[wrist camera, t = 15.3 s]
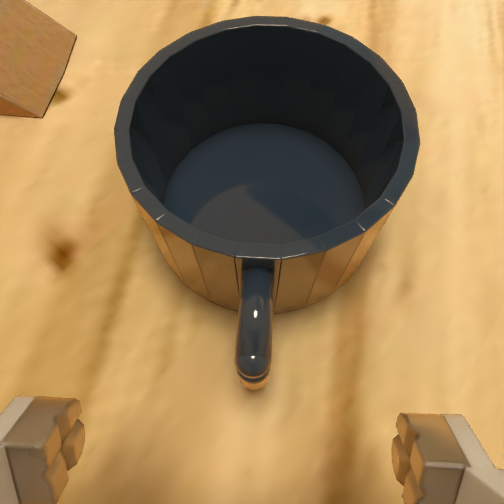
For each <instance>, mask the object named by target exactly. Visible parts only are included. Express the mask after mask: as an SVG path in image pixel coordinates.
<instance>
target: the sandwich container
mask: <svg viewBox="0 0 504 504" xmlns="http://www.w3.org/2000/svg"><path fill="white" fill-rule="evenodd" d="M76 36H77V35H75V34H74V33H72V32H71V31H70V30H68V29H67V28H65V27H64V26H62V25H61V24H59V23H58V22H56V21H55V20H53V19H52V18H50V17H49V16H47V15H46V14H44V13H43V12H41V11H40V10H38V9H37V8H36V7H34V6H33V5H31V4H30V3H28V2H27V1H25V0H0V114H3V115H15V116H28V117H40V118H42V117H43V114H44V112H45V110H46V108H47V106H48V104H49V102H50V100H51V98H52V96H53V94H54V92H55V90H56V87H57V85H58V83H59V81H60V79H61V77H62V75H63V73H64V70H65V67H66V64H67V61H68V58H69V55H70V52H71V50H72V47H73V44H74V41H75V38H76Z"/></svg>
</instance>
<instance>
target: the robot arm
mask: <svg viewBox="0 0 504 504" xmlns="http://www.w3.org/2000/svg"><path fill="white" fill-rule="evenodd" d="M81 412H82V410H81V405H80V401H79V400H77V399H72V398H57V397H43V396H38V397H36V396H22V395H19V396H17V397H15V398H14V399H13V400H12V401H11V402H10V403H9V405H8V406H7V407H6V408H5V409H4V411H3V412H2V413H1V414H0V504H56V503H57V501H58V499H59V497H60V496H61V494H62V492H63V490H64V488H65V486H66V484H67V482H68V475H67V471H68V470H70V469H71V468H72V467H74V466H75V465H76V464H77V462H78V460H79V458H80V456H81V454H82V450H83V446H84V442H85V429H84V425H83V423H82V422H81V421H80V420H79V419H78V417H79V415H80V413H81ZM396 427H397V430H398V433H399V434H398V435H397V436H396V437H395V438H394V439H393V443H392V464H393V469H394V473H395V476H396V479H397V480H398V481H399V482H400V483H401V484H402V485H403V486H404V490H403V495H402V497H403V500H404V503H405V504H504V470H503V469H496V468H495V466H494V465H493V463H492V461H491V460H490V458H489V456H488V455H487V453H486V452H485V450H484V448H483V447H482V445H481V443H480V442H479V440H478V438H477V437H476V435H475V434H474V432H473V430H472V429H471V427H470V425H469V424H468V422H467V420H466V419H465V417H463V416H462V415H458V414H440V415H439V414H417V413H400V414H399V415H398V417H397V422H396Z"/></svg>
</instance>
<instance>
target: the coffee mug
mask: <svg viewBox="0 0 504 504" xmlns="http://www.w3.org/2000/svg"><path fill="white" fill-rule="evenodd" d="M114 136H115V148H116V159H117V164H118V167H119V169H120V171H121V173H122V176H123V178H124V180H125V182H126V185H127V187H128V189H129V191H130V194H131V196H132V197H133V199H134V201H135V203H136V205H137V207H138V209H139V211H140V213H141V214H142V216H143V218H144V220H145V222H146V224H147V226H148V228H149V230H150V232H151V233H152V235H153V237H154V239H155V241H156V243H157V245H158V247H159V249H160V251H161V252H162V254H163V256H164V258H165V260H166V261H167V263H168V264H169V265H170V267H171V268H172V269H173V271H174V272H175V273H176V275H177V276H178V277H179V278H180V279H181V280H182V281H183V282H184V283H185V284H186V285H187V286H188V287H189V288H191V289H192V290H193V291H195V292H196V293H197V294H199V295H200V296H202V297H204V298H205V299H207V300H209V301H211V302H213V303H215V304H218V305H220V306H223V307H225V308H228V309H232V310H236V311H238V320H237V334H236V347H235V365H236V369H237V372H238V375H239V378H240V381H241V383H242V384H243V385H244V386H245V387H246V388H248V389H251V390H257V389H260V388H262V387H263V386H264V385H265V384H266V382H267V380H268V376H269V371H270V366H271V355H272V330H273V314H275V313H282V312H289V311H293V310H297V309H300V308H304V307H307V306H309V305H311V304H314V303H316V302H318V301H320V300H322V299H323V298H325V297H327V296H329V295H330V294H332V293H333V292H334V291H336V290H337V289H338V288H339V287H341V286H342V285H343V284H344V283H345V282H346V281H347V280H348V279H349V278H350V277H351V276H352V275H353V273H354V272H355V271H356V269H357V268H358V267H359V265H360V263H361V262H362V260H363V258H364V257H365V255H366V253H367V252H368V250H369V248H370V247H371V245H372V243H373V242H374V240H375V238H376V237H377V235H378V233H379V232H380V230H381V229H382V227H383V225H384V224H385V222H386V220H387V219H388V217H389V215H390V214H391V212H392V210H393V209H394V207H395V205H396V204H397V202H398V200H399V199H400V197H401V195H402V194H403V192H404V190H405V189H406V187H407V185H408V184H409V182H410V180H411V179H412V177H413V175H414V170H415V165H416V161H417V156H418V151H419V146H420V137H419V129H418V121H417V113H416V109H415V107H414V105H413V103H412V101H411V98H410V96H409V94H408V92H407V90H406V88H405V86H404V83H403V82H402V80H401V79H400V78H399V77H398V76H397V75H396V73H395V72H394V71H393V70H392V69H391V68H390V67H389V65H388V64H387V63H386V62H385V61H384V60H383V58H381V57H380V56H379V55H378V54H376V53H375V52H374V51H372V50H371V49H369V48H368V47H367V46H365V45H364V44H362V43H361V42H359V41H358V40H357V39H355V38H354V37H352V36H350V35H347V34H345V33H343V32H340V31H338V30H336V29H333V28H331V27H329V26H326V25H322V24H319V23H314V22H309V21H305V20H300V19H296V18H289V17H273V16H251V17H244V18H238V19H231V20H225V21H221V22H217V23H214V24H212V25H209V26H206V27H203V28H200V29H197V30H195V31H192V32H190V33H187V34H186V35H184V36H182V37H181V38H179V39H177V40H176V41H174V42H172V43H171V44H169V45H167V46H166V47H164V48H163V49H161V50H159V51H158V52H157V53H156V54H155V55H154V56H153V57H152V58H151V59H150V60H149V61H148V62H147V63H146V64H145V65H144V66H143V67H142V68H141V69H140V70H139V71H138V73H137V74H136V76H135V77H134V79H133V81H132V82H131V84H130V86H129V87H128V89H127V91H126V93H125V94H124V96H123V98H122V100H121V102H120V106H119V111H118V115H117V119H116V123H115V127H114Z"/></svg>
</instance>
